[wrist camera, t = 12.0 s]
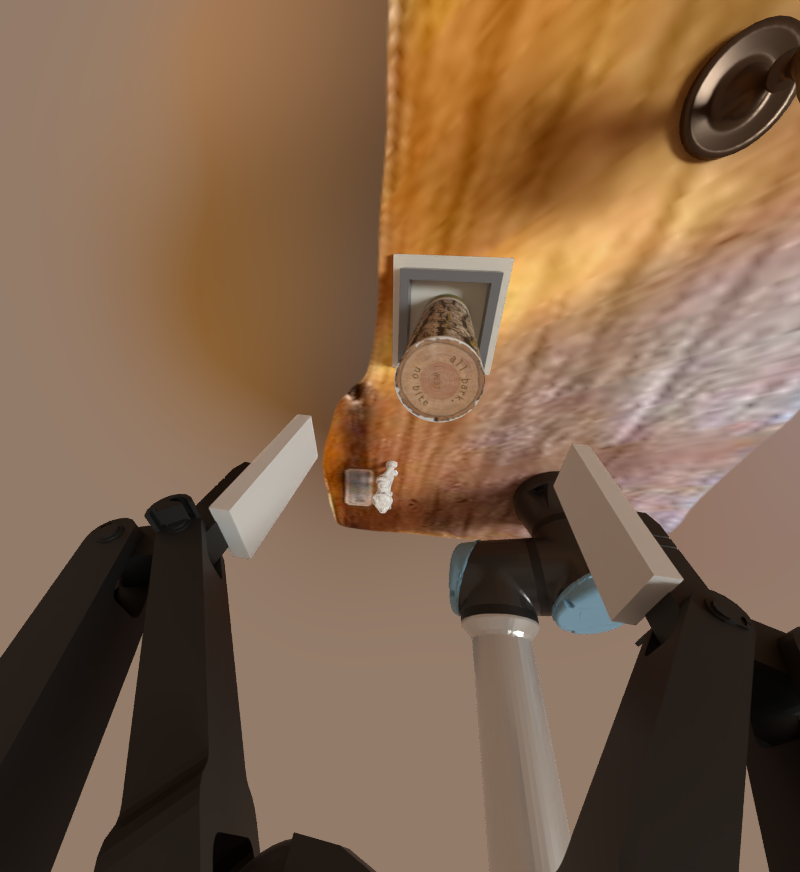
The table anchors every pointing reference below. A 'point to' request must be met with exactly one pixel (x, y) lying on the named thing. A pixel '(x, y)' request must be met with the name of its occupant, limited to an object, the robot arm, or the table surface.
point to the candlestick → (743, 89)
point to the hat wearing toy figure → (385, 488)
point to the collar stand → (455, 275)
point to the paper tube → (441, 363)
